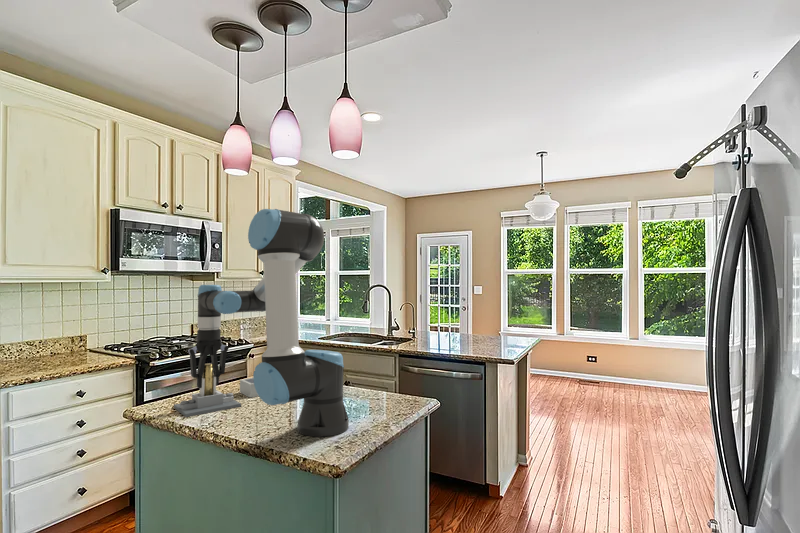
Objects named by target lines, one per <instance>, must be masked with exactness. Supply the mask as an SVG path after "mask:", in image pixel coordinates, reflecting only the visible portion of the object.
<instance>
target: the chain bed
mask: <svg viewBox="0 0 800 533" xmlns="http://www.w3.org/2000/svg"><path fill="white" fill-rule="evenodd" d="M199 395H200V392H196V393H192V394H191V399H188V400H181V401H180V402H179V403H175V404H173V409H175V410H176V411H178V412H179V413H180V414H181V415H183V417H185V418H189V417H194V416H200V415H203V414H209V413H213V412H215V413H216V412H219V411H225V410H230V409H231V410H232V409H235V408H241V407H242V404H241V402H238V401H237V400H235V397H234V393H233V392H227V393H223V392H221V391H219V390H217V389H216V394H215V395H209V396H203V397H200V396H199Z"/></svg>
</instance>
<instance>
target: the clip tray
mask: <svg viewBox="0 0 800 533" xmlns="http://www.w3.org/2000/svg"><path fill="white" fill-rule="evenodd" d="M239 393H240V394H242V395H244V396H246V397H248V398H255V397H259V396H258V394H257V392H256V389H255V386H254V380H253V377H250V378H243V379H242V378H241V379H240V380H239Z"/></svg>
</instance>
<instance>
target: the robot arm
mask: <svg viewBox="0 0 800 533" xmlns="http://www.w3.org/2000/svg"><path fill="white" fill-rule="evenodd" d="M247 234H248V235H247V239H248V244H250V245H249V246H250V248H252V249H253V250H255V251H257V258H258V259H259V260H260V261H261V262H262V263H263V277H261V280H260V281H259V282H258V283H257V284H256V286H255V287H254V288H253V289H252V290H222V286H221V285H220V284H201V285H199V286H198V293H197V326H196V327H197V328H198V329H197V331H196V332H197V333H196V334H197V335H196V343H195V346H193V347H191V348H188V349H187V353H188V355H189V363H190V375H191V377H192V378H194V379H196V387H197V388H198V389H199V393H200V395H199V396H200V397H203V396H204V387H205V379H204V378H203V371H204V366H205V364H206V360H207V357H208V356H210V358H211V363H212V364H213V395H215V394H216V390H217V386H219V384H220V376H221V375H224V374H225V371H226V362H227V353H228V351H229V345H225V344H223V343H222V341H221V339H222V338H221V333H222V332H221V331H222V330H221V326H222V315H231V314H232V315H233V314H236V313H251V312H252V313H255V312H257V313H258V312H260V313H262V312H265V327H266V330H265V331H266V332H265V333H266V350H265V351H264V352H263V353H261V362H260V363H258V364H257V365H255V367H254V371H253V375H252V378H253V380H254V386H255V389H256V392H257V394H258V396H257V397H259V398H260V400H261V401H262V402H263V403H265V404H266V405H269V406H277V405H285V404H288V403H291V402H296V401H299V400H303V405H302V407H301V411H300V412H299V418H298V420H297V428H296V429H297V432H298V433H299V434H302V435H304V436H308V437H319V438H321V437H331V436H335V435H339V434H342V433H344V432H346V431H347V430H348V429H349V417H348V414H347V409H346V406H345V404H344V368H345V366H344V358H343V357H344V356H343V354H342V353H341V352H338V351H334V350H333V351H332V350H326V349H325V350H323V349H306V350H304V349H303V348H301V346H300V344H299V342H300V340H299V325H298V324H299V322H298V321H299V319H298V301H297V280H296V277H297V276H296V275H297V273H298V272H299V271H300V270H301V269H302V268H303V266H305V264H306V263H307V262H311V261H313V260H314V259H315V258H316V257H317V255H319V253H320V252H321V250H322V248H323V246H324V242H325V232H324V228H323V226H322V224H321V223H320V221H319V220H318V219H317V218H316V217H314V216H312V215H310V214H307V213H301V212H294V211H289V210H281V209H277V208H273V209H271V208H263V209H260V210H259V211H257V212H256V213H255V214H254V215H253V218H252V219H251V221H250V224H249V227H248V233H247ZM219 350H220V355H219V361H218V351H219ZM197 351H198V353H199V361H198V366H197V356H196V354H197Z"/></svg>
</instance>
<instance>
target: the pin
mask: <svg viewBox="0 0 800 533" xmlns="http://www.w3.org/2000/svg"><path fill="white" fill-rule="evenodd" d="M213 376H214V373H213V364H212V362H211V363H210V362H209V363H208V362H207V363H205V366H204V371H203V378H204V379H205V387H204V396H209V395H213Z"/></svg>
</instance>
